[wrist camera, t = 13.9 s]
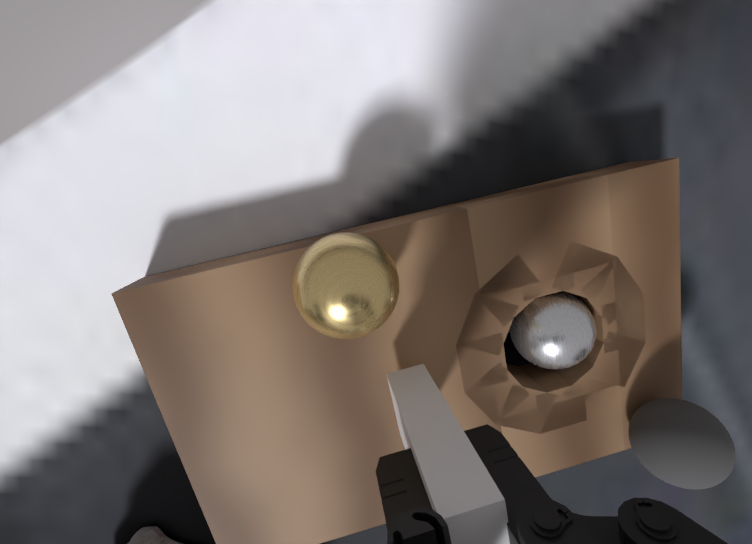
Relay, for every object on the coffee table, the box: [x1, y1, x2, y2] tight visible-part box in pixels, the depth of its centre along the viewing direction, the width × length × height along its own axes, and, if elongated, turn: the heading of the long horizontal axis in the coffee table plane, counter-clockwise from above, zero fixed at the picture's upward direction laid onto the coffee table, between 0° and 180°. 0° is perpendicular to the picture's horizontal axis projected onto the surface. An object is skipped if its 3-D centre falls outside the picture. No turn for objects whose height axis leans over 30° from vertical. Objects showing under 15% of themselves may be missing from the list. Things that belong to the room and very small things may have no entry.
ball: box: [509, 291, 596, 369], centre depth 17 cm, size 4×4×4 cm
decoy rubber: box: [629, 398, 735, 489], centre depth 16 cm, size 4×4×4 cm
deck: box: [112, 158, 682, 544], centre depth 17 cm, size 22×13×2 cm, turn 102°
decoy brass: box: [292, 232, 399, 339], centre depth 12 cm, size 4×4×4 cm
